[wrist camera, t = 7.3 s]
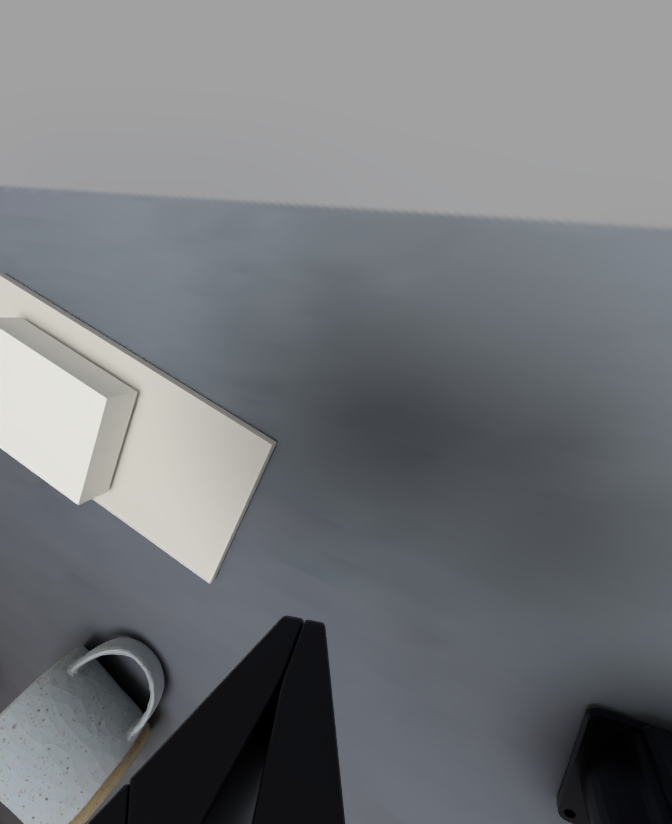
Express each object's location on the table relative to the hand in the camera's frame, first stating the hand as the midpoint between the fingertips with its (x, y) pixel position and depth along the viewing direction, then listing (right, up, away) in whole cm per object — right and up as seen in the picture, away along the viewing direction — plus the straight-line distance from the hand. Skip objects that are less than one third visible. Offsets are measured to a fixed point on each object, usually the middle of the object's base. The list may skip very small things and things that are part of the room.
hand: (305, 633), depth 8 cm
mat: (-13, +4, +17) cm, 21 cm away
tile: (-12, +2, +15) cm, 19 cm away
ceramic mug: (-15, -15, +22) cm, 30 cm away
